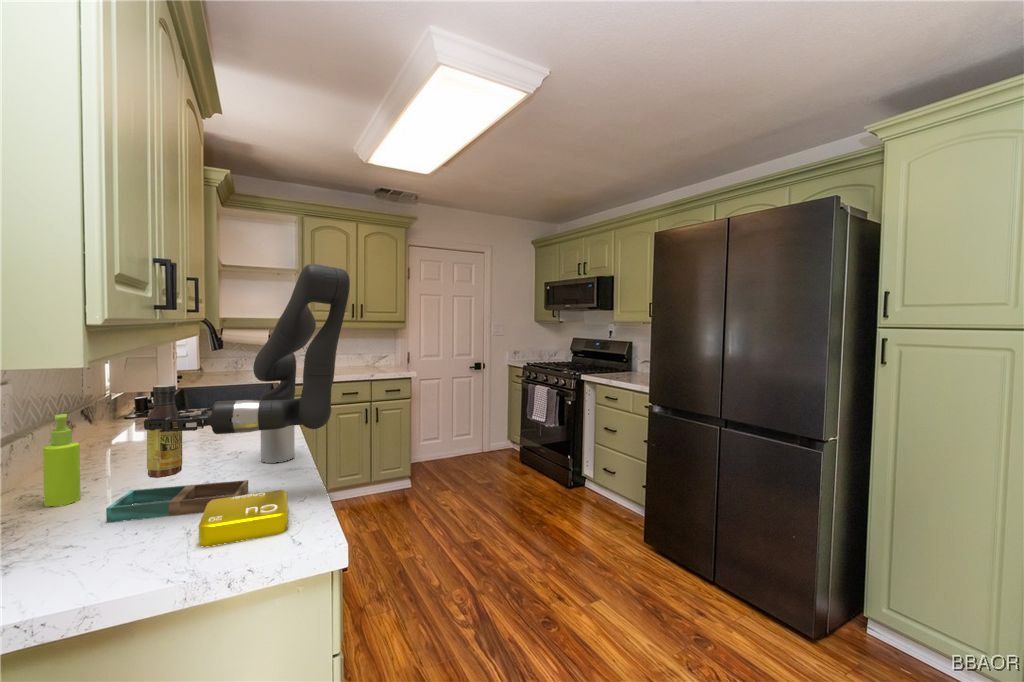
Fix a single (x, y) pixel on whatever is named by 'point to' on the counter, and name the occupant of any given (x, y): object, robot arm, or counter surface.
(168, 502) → the twin dock
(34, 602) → the counter surface
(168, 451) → the sauce bottle
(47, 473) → the soap dispenser
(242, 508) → the element tile
